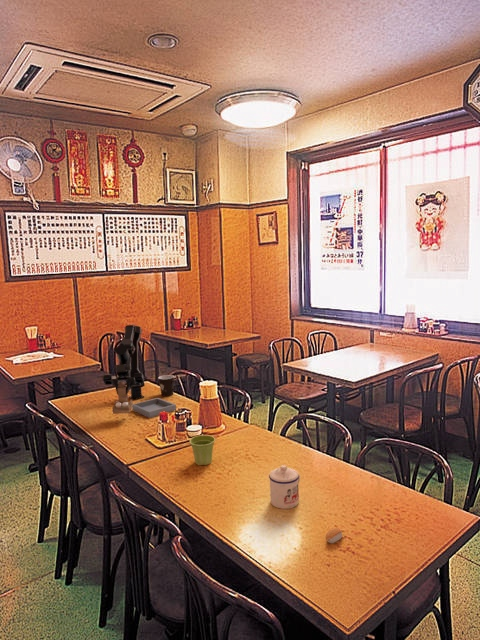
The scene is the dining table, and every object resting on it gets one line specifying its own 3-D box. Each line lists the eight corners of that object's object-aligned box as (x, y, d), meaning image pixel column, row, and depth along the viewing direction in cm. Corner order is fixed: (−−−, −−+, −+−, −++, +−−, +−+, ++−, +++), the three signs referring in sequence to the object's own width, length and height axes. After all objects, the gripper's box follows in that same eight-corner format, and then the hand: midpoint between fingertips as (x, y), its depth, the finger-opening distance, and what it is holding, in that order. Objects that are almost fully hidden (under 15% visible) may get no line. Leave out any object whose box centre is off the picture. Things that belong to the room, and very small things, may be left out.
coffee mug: (157, 394, 269) (156, 376, 268) (172, 391, 273) (171, 374, 271) (163, 399, 259) (162, 381, 257) (179, 396, 262) (177, 378, 261)
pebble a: (115, 409, 227) (113, 403, 226) (120, 406, 228) (119, 400, 228) (118, 410, 224) (116, 404, 224) (123, 407, 226) (122, 401, 226)
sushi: (323, 542, 128) (322, 532, 127) (338, 532, 132) (337, 522, 131) (331, 547, 126) (330, 536, 125) (346, 536, 130) (345, 526, 129)
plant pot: (221, 461, 180) (220, 438, 178) (202, 470, 173) (201, 447, 172) (204, 454, 186) (203, 433, 185) (185, 463, 179) (184, 440, 178)
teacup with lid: (287, 513, 142) (286, 475, 141) (263, 503, 149) (262, 467, 147) (311, 496, 151) (310, 461, 149) (287, 488, 157) (286, 454, 156)
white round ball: (120, 407, 227) (120, 401, 226) (126, 406, 229) (126, 400, 228) (123, 409, 224) (123, 403, 224) (129, 408, 226) (129, 402, 226)
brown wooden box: (116, 406, 232) (114, 381, 229) (132, 405, 233) (130, 380, 230) (113, 413, 224) (110, 388, 221) (129, 412, 224) (127, 387, 221)
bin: (132, 410, 243) (132, 404, 243) (158, 403, 253) (157, 397, 252) (149, 418, 230) (149, 412, 230) (176, 410, 240) (175, 404, 239)
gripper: (101, 358, 230) (98, 387, 221) (141, 356, 231) (139, 385, 221) (106, 370, 239) (103, 398, 230) (144, 368, 240) (143, 396, 230)
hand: (122, 394), depth 227 cm, fingers closed on brown wooden box, 4 cm apart
